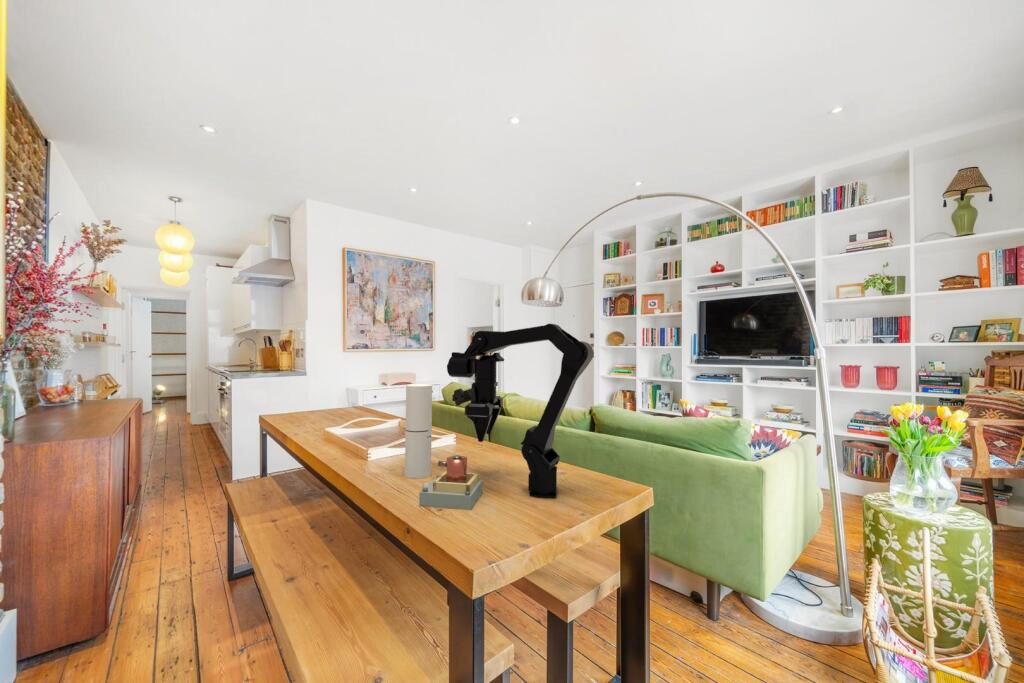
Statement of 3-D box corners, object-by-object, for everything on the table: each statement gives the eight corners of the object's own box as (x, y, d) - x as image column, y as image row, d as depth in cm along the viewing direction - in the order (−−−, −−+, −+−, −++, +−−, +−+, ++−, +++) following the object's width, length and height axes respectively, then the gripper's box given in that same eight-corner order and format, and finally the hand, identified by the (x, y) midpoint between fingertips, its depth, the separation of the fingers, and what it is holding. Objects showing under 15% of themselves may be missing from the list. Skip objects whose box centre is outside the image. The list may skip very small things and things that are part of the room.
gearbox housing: (482, 492, 101) (482, 472, 102) (470, 509, 91) (471, 486, 91) (429, 488, 104) (430, 468, 104) (412, 505, 93) (412, 483, 93)
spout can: (469, 483, 99) (469, 454, 99) (463, 490, 94) (464, 459, 94) (441, 481, 100) (442, 452, 100) (434, 487, 95) (435, 457, 95)
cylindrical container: (400, 474, 115) (401, 384, 116) (422, 469, 120) (423, 383, 121) (413, 480, 110) (414, 386, 110) (435, 474, 115) (437, 385, 115)
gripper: (465, 375, 119) (464, 429, 119) (444, 380, 100) (443, 444, 100) (503, 376, 117) (502, 431, 117) (489, 381, 99) (488, 446, 99)
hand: (484, 437), depth 108 cm, fingers open, 9 cm apart
